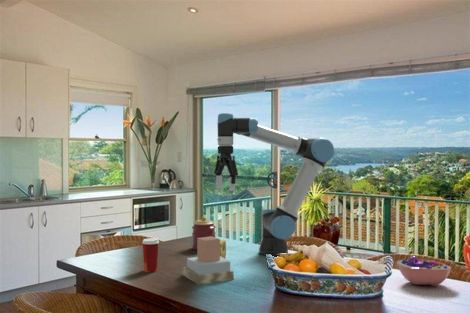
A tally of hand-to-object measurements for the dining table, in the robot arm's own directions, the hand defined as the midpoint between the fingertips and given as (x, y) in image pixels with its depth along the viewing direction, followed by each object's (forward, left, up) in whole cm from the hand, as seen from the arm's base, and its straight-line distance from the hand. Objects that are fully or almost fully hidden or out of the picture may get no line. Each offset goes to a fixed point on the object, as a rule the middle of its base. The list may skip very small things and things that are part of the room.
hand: (225, 189), depth 220 cm
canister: (-3, -32, -35) cm, 47 cm away
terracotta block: (+19, +20, -27) cm, 39 cm away
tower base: (+19, +20, -35) cm, 45 cm away
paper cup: (+37, -2, -35) cm, 51 cm away
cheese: (+6, -2, -35) cm, 36 cm away
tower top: (+19, +20, -31) cm, 42 cm away
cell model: (-51, +72, -35) cm, 95 cm away
